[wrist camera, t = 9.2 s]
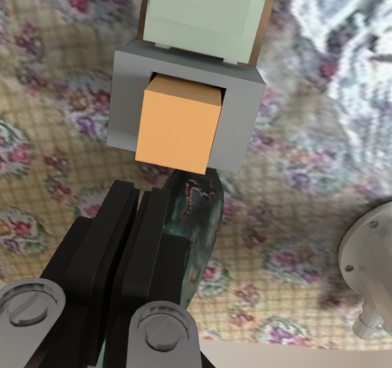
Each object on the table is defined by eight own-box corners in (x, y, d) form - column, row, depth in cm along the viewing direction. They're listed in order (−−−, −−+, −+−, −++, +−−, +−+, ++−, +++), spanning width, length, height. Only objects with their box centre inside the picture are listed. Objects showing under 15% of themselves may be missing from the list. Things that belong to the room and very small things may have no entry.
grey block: (234, 140, 29) (239, 173, 23) (125, 116, 28) (103, 144, 23) (255, 66, 26) (266, 84, 20) (134, 39, 25) (111, 49, 20)
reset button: (206, 142, 24) (204, 174, 20) (150, 130, 24) (135, 160, 19) (220, 85, 22) (221, 106, 18) (159, 72, 22) (144, 89, 17)
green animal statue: (138, 295, 40) (74, 531, 22) (86, 271, 38) (-25, 501, 21) (235, 163, 31) (259, 372, 14) (173, 127, 30) (111, 306, 12)
